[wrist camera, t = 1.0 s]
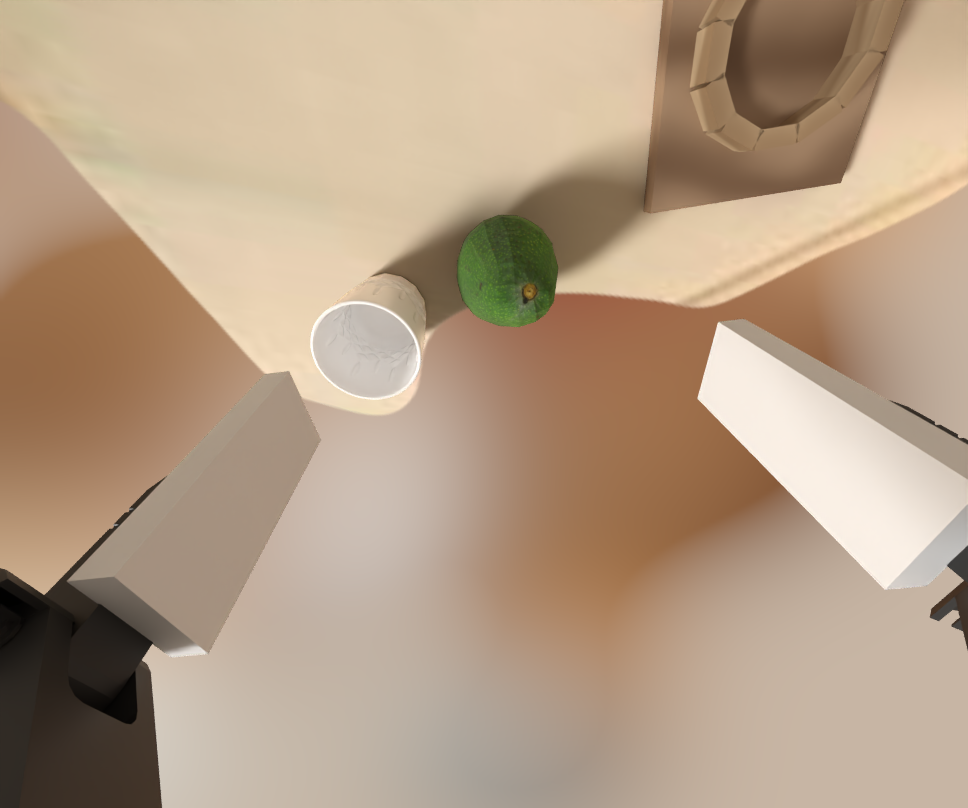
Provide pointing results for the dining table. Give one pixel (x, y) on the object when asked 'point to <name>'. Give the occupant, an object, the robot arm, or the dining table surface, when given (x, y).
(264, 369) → the dining table surface
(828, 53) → the cruet board
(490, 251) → the avocado
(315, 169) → the dining table surface
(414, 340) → the white cup
